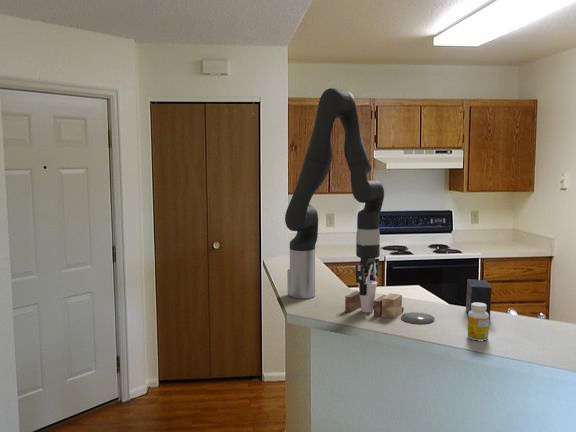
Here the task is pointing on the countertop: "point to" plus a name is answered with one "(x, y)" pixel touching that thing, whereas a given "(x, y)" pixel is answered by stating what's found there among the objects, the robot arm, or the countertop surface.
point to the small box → (478, 294)
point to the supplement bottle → (478, 322)
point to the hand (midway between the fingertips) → (367, 292)
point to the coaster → (417, 318)
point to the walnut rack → (377, 304)
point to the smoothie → (368, 297)
